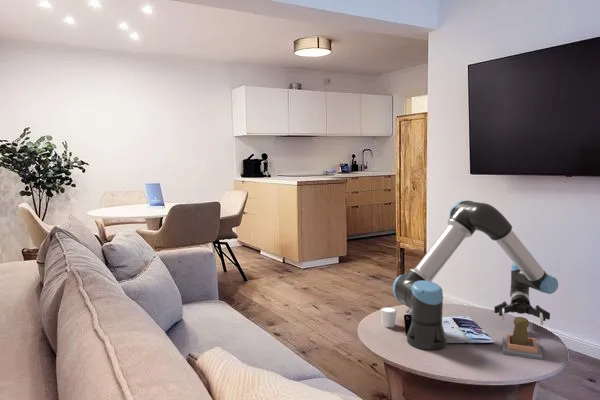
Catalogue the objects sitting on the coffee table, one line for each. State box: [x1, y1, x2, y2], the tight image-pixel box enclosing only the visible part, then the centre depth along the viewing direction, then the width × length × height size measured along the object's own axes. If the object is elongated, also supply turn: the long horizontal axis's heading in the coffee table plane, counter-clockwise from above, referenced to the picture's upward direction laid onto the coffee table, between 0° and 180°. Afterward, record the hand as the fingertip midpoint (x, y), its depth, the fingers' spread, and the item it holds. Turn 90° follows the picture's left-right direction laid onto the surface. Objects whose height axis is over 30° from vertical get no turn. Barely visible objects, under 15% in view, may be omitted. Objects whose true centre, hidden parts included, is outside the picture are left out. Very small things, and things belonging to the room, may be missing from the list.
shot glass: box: [380, 306, 397, 328], centre depth 192 cm, size 7×7×7 cm
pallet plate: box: [501, 334, 543, 360], centre depth 167 cm, size 13×13×3 cm
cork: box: [511, 316, 530, 346], centre depth 166 cm, size 6×6×11 cm
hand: (522, 319), depth 172 cm, fingers open, 13 cm apart
